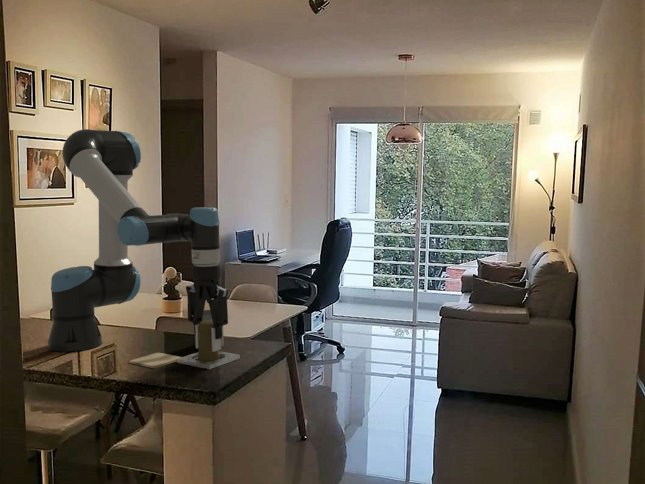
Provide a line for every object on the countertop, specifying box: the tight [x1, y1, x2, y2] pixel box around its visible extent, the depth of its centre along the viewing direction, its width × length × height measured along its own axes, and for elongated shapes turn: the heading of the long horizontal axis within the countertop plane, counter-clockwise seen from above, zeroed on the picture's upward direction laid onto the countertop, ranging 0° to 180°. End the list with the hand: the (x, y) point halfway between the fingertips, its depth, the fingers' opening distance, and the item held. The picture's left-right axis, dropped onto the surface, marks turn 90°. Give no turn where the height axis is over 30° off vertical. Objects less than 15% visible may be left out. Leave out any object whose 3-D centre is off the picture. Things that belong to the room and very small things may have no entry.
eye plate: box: [176, 350, 241, 370], centre depth 172 cm, size 12×12×1 cm
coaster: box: [128, 352, 183, 370], centre depth 172 cm, size 10×10×1 cm
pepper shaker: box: [197, 320, 221, 362], centre depth 171 cm, size 6×6×11 cm
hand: (208, 348), depth 171 cm, fingers closed on pepper shaker, 5 cm apart
